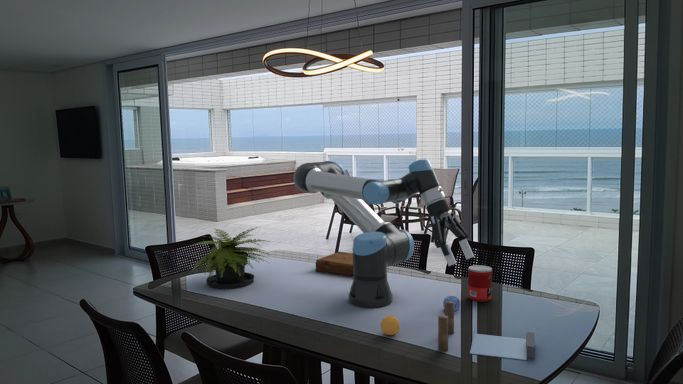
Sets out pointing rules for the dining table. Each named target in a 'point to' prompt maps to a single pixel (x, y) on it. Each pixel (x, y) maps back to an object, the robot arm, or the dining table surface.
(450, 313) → the post
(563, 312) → the dining table surface
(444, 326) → the post
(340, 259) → the brown wooden block
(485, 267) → the canned food
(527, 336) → the stopper wall
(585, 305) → the dining table surface
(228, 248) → the fern plant
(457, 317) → the dining table surface
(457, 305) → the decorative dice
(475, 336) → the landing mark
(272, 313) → the dining table surface
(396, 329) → the ball
